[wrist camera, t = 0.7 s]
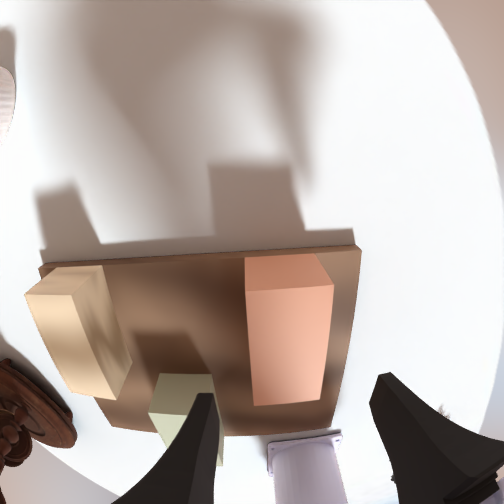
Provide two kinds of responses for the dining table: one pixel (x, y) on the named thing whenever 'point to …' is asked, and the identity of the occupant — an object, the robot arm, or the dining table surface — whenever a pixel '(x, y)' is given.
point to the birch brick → (81, 330)
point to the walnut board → (214, 334)
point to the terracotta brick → (287, 326)
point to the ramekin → (6, 102)
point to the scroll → (28, 419)
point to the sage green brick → (180, 404)
